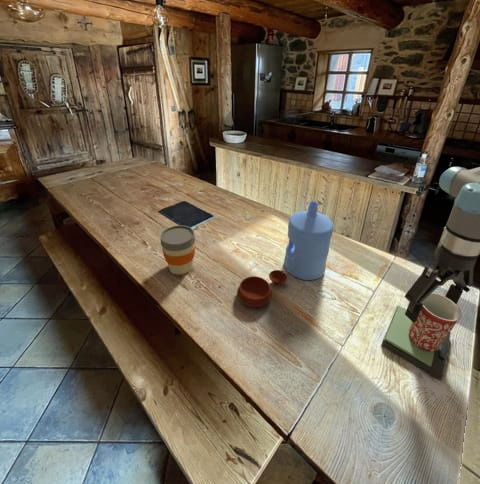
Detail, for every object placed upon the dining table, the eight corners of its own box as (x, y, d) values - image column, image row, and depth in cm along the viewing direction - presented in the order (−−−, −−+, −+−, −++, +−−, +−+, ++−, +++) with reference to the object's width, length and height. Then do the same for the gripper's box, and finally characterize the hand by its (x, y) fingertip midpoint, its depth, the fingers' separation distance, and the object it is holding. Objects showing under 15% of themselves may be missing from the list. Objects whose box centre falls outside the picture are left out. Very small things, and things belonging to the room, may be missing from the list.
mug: (451, 357, 70) (471, 321, 64) (416, 355, 70) (432, 319, 64) (423, 315, 81) (438, 282, 75) (393, 314, 81) (405, 281, 75)
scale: (448, 337, 78) (451, 330, 77) (440, 380, 67) (444, 374, 66) (395, 310, 86) (398, 304, 85) (381, 345, 75) (383, 338, 74)
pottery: (230, 293, 91) (230, 284, 89) (272, 269, 102) (273, 260, 100) (251, 317, 83) (252, 307, 81) (295, 288, 94) (296, 279, 92)
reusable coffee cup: (201, 271, 101) (199, 239, 94) (168, 282, 96) (164, 248, 89) (191, 252, 111) (189, 221, 104) (161, 261, 106) (156, 229, 99)
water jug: (329, 263, 106) (342, 201, 94) (316, 287, 94) (329, 220, 82) (293, 249, 114) (301, 190, 102) (277, 270, 102) (283, 206, 90)
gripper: (478, 230, 69) (450, 290, 78) (403, 248, 62) (381, 312, 71) (513, 247, 62) (477, 311, 71) (432, 269, 55) (405, 336, 65)
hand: (429, 311), depth 71 cm, fingers open, 13 cm apart
